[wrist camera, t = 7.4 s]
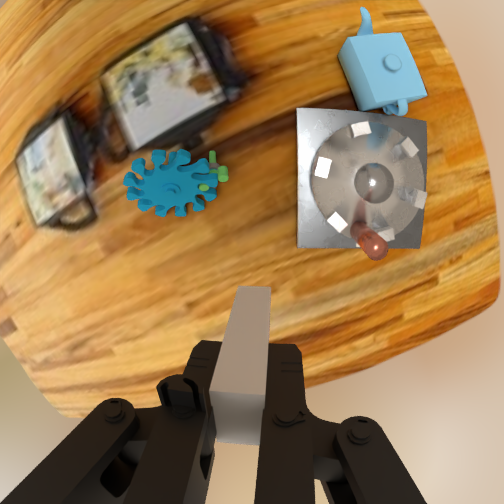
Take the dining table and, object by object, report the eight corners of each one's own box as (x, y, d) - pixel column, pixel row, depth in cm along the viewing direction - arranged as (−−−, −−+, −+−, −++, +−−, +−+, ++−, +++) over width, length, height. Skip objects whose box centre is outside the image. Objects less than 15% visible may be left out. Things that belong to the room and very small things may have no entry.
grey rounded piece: (298, 222, 30) (305, 243, 23) (325, 108, 26) (341, 93, 19) (399, 249, 30) (429, 274, 23) (428, 146, 26) (465, 146, 18)
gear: (141, 226, 32) (106, 170, 23) (146, 188, 35) (118, 131, 26) (233, 214, 32) (224, 149, 23) (230, 175, 35) (221, 111, 26)
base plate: (295, 110, 28) (296, 107, 26) (418, 122, 27) (426, 121, 25) (296, 242, 33) (297, 248, 31) (412, 243, 32) (420, 248, 30)
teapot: (324, 34, 25) (335, 5, 17) (370, 29, 24) (390, 2, 16) (361, 126, 28) (385, 117, 21) (406, 117, 27) (437, 108, 20)
